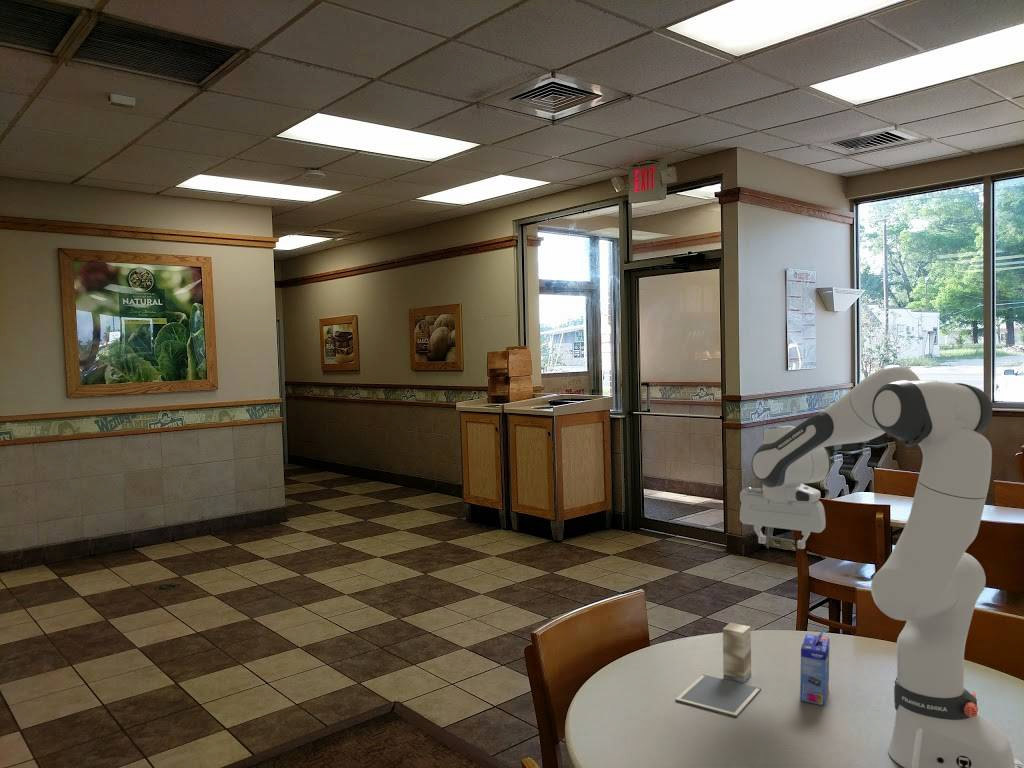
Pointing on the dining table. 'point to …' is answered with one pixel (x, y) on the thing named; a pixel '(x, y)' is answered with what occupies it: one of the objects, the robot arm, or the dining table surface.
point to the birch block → (737, 652)
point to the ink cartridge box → (814, 669)
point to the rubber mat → (718, 695)
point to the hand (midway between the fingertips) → (781, 545)
